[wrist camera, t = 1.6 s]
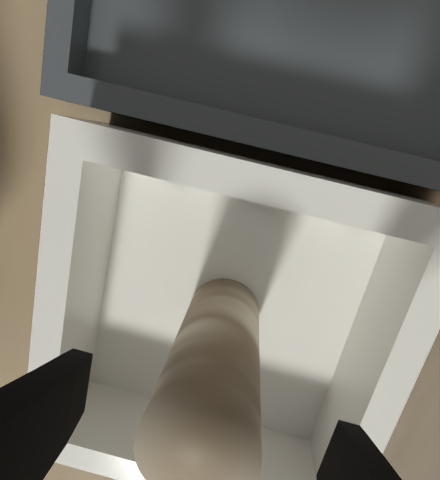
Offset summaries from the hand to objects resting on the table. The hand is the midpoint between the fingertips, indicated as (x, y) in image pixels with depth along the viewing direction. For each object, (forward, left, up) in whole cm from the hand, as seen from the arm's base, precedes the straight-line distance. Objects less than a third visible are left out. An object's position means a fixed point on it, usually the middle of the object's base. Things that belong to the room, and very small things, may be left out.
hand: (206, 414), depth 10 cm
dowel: (0, 0, -7) cm, 7 cm away
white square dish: (0, 0, -7) cm, 7 cm away
